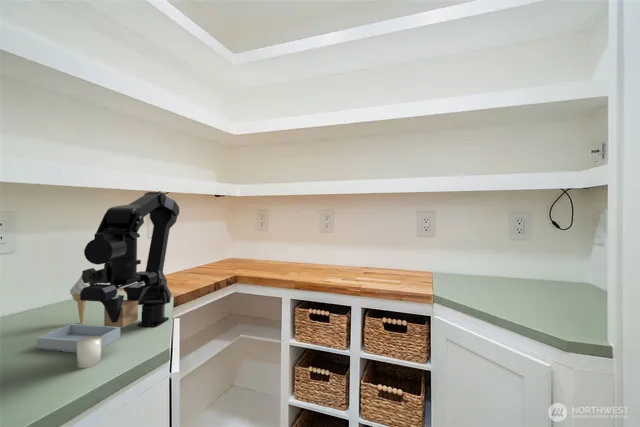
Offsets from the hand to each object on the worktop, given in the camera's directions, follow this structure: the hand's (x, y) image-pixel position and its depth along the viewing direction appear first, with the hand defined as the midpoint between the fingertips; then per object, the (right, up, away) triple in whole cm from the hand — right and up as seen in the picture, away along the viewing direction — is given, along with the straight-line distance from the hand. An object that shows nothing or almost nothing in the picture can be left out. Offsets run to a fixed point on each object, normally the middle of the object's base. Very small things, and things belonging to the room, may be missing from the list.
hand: (122, 318), depth 74 cm
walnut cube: (0, -1, 0) cm, 1 cm away
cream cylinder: (-3, -8, -7) cm, 11 cm away
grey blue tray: (-13, -8, +3) cm, 15 cm away
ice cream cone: (-24, -7, +16) cm, 30 cm away
